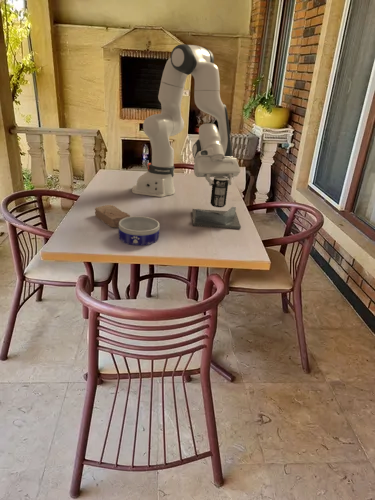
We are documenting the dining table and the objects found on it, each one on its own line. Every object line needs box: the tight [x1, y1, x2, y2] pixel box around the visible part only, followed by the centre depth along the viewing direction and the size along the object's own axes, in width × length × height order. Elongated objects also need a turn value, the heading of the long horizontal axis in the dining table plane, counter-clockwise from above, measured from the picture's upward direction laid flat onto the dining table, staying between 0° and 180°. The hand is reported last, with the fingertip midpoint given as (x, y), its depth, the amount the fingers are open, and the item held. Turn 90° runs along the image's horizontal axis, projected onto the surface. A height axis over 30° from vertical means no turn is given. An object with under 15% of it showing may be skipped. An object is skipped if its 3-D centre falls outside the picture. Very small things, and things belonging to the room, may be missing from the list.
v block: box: [192, 206, 242, 230], centre depth 166 cm, size 18×20×5 cm
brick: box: [94, 204, 131, 228], centre depth 157 cm, size 17×8×5 cm, turn 39°
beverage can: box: [209, 176, 229, 208], centre depth 161 cm, size 7×7×12 cm
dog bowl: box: [118, 215, 161, 247], centre depth 143 cm, size 15×15×6 cm
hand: (220, 184), depth 159 cm, fingers closed on beverage can, 7 cm apart
